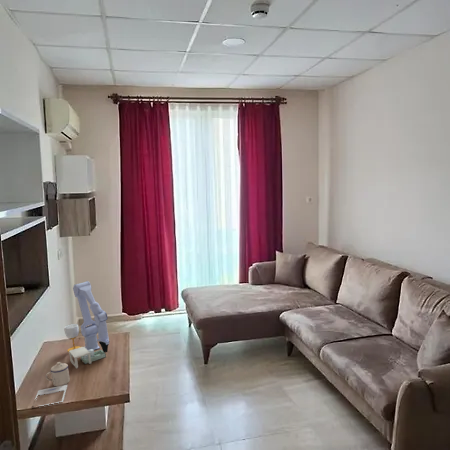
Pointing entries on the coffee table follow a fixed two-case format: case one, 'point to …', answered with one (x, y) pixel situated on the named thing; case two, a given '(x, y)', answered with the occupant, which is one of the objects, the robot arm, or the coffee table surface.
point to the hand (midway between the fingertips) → (105, 352)
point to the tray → (97, 355)
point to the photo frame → (52, 390)
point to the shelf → (79, 355)
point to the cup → (72, 334)
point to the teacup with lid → (59, 374)
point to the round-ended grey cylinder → (91, 352)
